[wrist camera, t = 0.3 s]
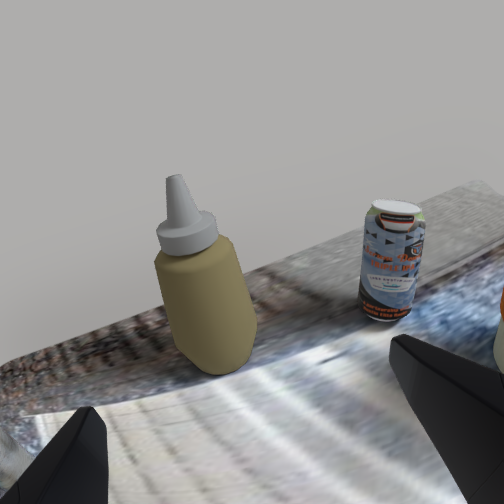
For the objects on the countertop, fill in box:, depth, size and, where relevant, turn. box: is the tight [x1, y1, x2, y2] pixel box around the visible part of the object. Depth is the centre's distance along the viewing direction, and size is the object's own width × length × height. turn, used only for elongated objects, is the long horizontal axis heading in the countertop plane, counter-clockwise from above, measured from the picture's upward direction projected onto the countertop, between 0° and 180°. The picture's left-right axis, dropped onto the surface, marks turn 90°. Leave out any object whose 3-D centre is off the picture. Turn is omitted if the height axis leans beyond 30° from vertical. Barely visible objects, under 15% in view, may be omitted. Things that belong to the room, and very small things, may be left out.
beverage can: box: [357, 199, 426, 322], centre depth 30 cm, size 6×7×12 cm
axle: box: [0, 426, 36, 492], centre depth 14 cm, size 5×5×11 cm
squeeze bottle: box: [154, 174, 257, 375], centre depth 27 cm, size 8×8×18 cm
